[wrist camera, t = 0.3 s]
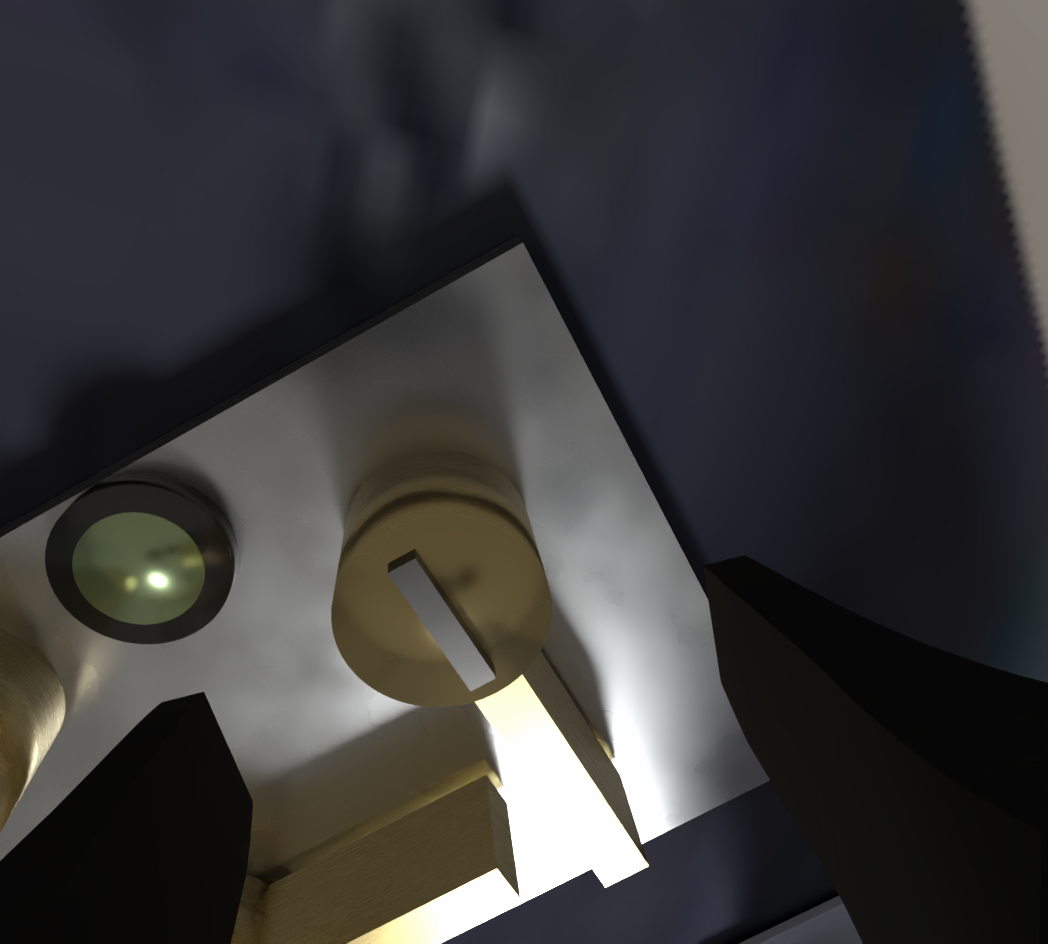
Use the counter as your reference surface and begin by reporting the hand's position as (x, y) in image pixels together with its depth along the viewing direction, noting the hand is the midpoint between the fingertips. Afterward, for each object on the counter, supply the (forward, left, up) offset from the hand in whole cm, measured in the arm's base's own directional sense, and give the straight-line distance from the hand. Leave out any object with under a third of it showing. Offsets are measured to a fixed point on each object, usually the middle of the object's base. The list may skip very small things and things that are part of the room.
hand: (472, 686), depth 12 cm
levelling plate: (-5, +6, -10) cm, 13 cm away
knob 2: (-9, +9, -8) cm, 15 cm away
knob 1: (-5, +1, -8) cm, 10 cm away
